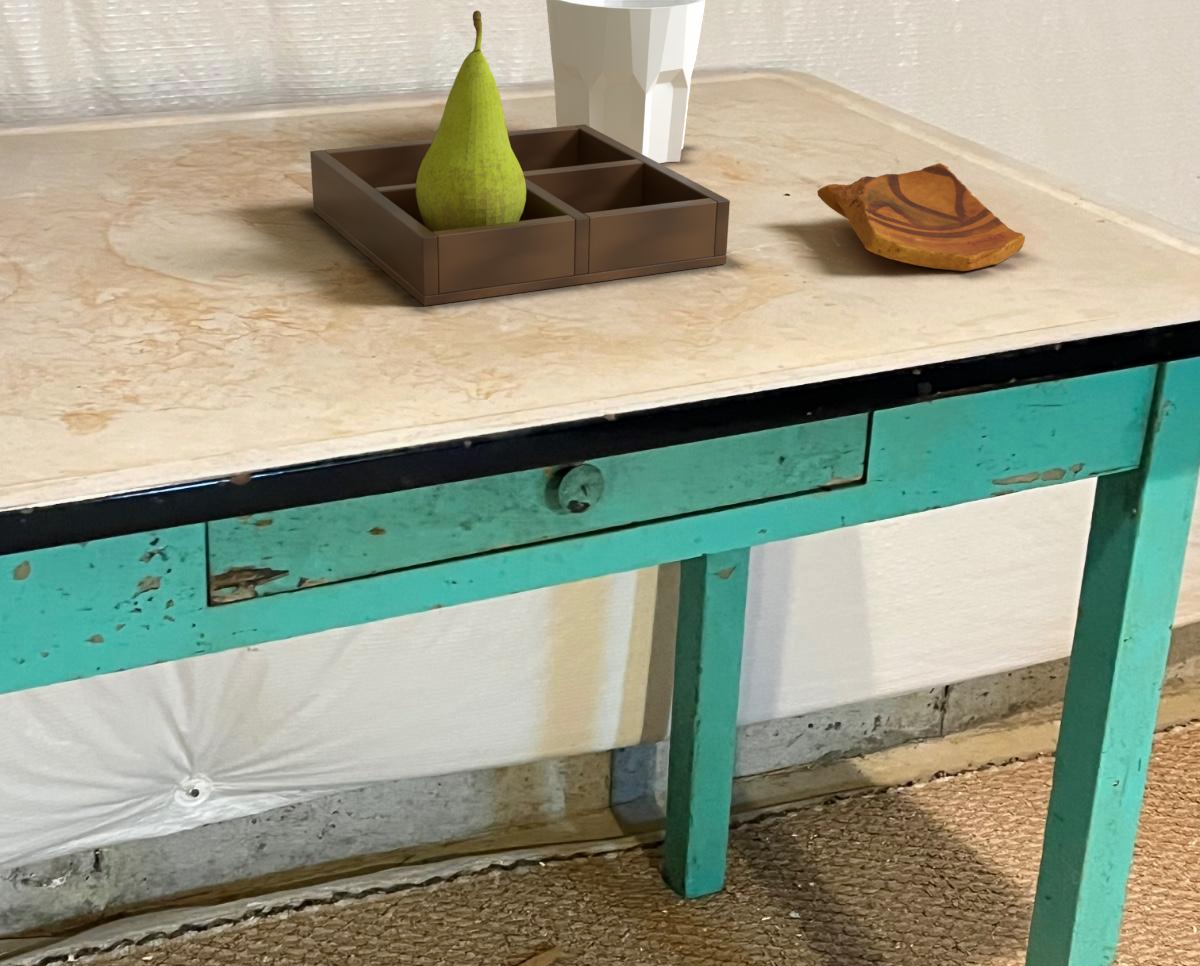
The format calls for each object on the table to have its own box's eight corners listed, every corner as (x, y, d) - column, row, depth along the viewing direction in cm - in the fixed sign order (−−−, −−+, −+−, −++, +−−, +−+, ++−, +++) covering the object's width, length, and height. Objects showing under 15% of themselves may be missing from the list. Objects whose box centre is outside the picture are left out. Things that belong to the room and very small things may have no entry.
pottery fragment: (944, 159, 99) (1047, 175, 91) (943, 239, 101) (1045, 261, 92) (791, 178, 96) (883, 196, 87) (793, 260, 98) (883, 285, 89)
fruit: (440, 277, 86) (435, 32, 80) (401, 244, 91) (394, 10, 85) (544, 264, 88) (546, 25, 82) (501, 232, 93) (500, 3, 87)
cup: (610, 181, 105) (615, 14, 100) (514, 146, 112) (514, -12, 107) (729, 157, 110) (739, -2, 106) (630, 125, 117) (635, -26, 112)
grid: (424, 306, 84) (422, 237, 83) (313, 211, 98) (309, 150, 96) (726, 264, 91) (730, 200, 90) (584, 181, 105) (585, 124, 103)
